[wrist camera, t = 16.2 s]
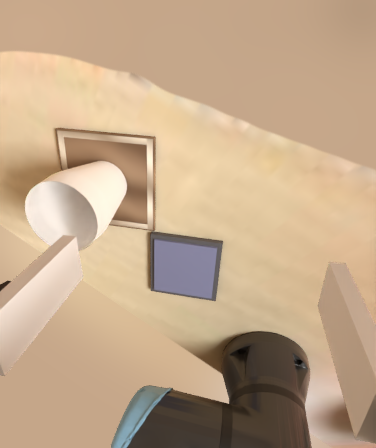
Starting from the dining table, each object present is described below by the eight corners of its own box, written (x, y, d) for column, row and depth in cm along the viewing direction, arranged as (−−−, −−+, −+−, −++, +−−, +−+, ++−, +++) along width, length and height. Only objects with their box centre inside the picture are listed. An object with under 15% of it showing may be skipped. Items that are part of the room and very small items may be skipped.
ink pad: (216, 297, 52) (215, 302, 51) (152, 287, 53) (150, 292, 52) (222, 241, 47) (222, 245, 46) (152, 231, 48) (149, 235, 47)
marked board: (155, 229, 48) (153, 231, 47) (70, 217, 50) (68, 219, 49) (155, 136, 41) (154, 137, 41) (58, 128, 43) (55, 128, 43)
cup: (147, 188, 44) (115, 225, 34) (108, 222, 48) (67, 265, 37) (102, 138, 42) (52, 162, 32) (64, 178, 46) (9, 211, 35)
